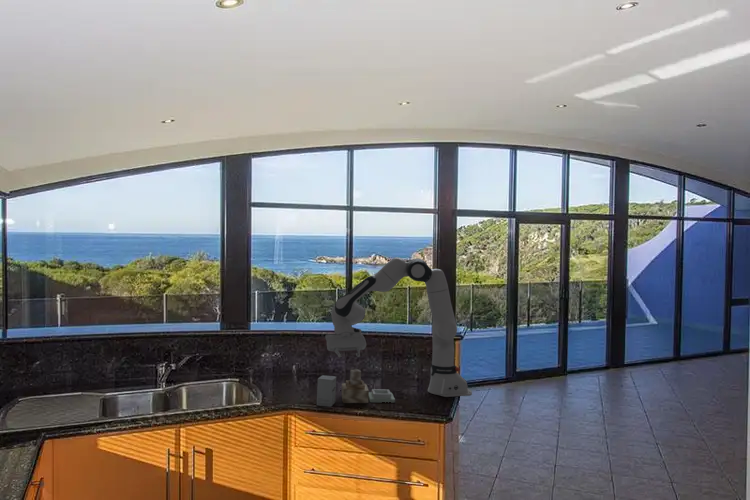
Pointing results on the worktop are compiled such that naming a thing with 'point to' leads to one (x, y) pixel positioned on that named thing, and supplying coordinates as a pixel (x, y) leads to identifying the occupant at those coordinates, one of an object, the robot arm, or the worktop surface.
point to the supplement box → (326, 390)
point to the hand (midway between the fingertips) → (349, 356)
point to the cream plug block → (355, 377)
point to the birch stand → (354, 393)
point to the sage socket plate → (381, 396)
